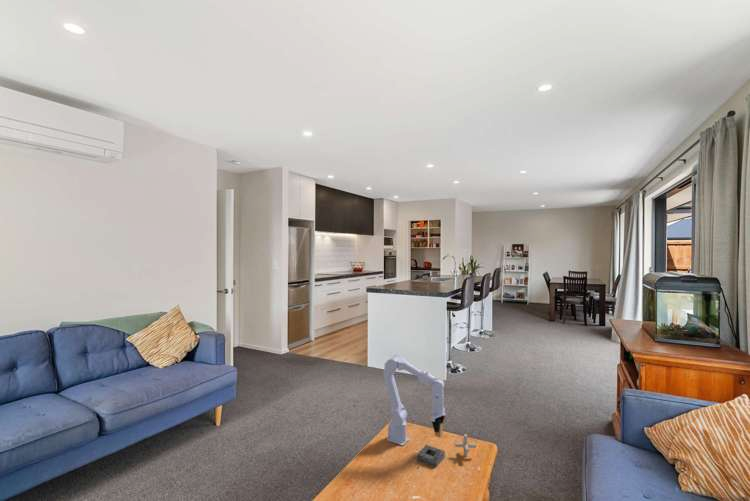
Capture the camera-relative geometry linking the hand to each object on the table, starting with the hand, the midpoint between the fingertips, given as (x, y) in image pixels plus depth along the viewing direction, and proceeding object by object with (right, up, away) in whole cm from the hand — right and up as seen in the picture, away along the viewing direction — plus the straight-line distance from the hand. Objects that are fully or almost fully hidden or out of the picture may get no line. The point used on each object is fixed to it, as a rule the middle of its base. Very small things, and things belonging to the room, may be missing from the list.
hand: (437, 430), depth 180 cm
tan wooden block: (0, -3, 0) cm, 3 cm away
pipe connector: (+13, -10, -6) cm, 17 cm away
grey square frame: (-5, -9, -9) cm, 14 cm away
